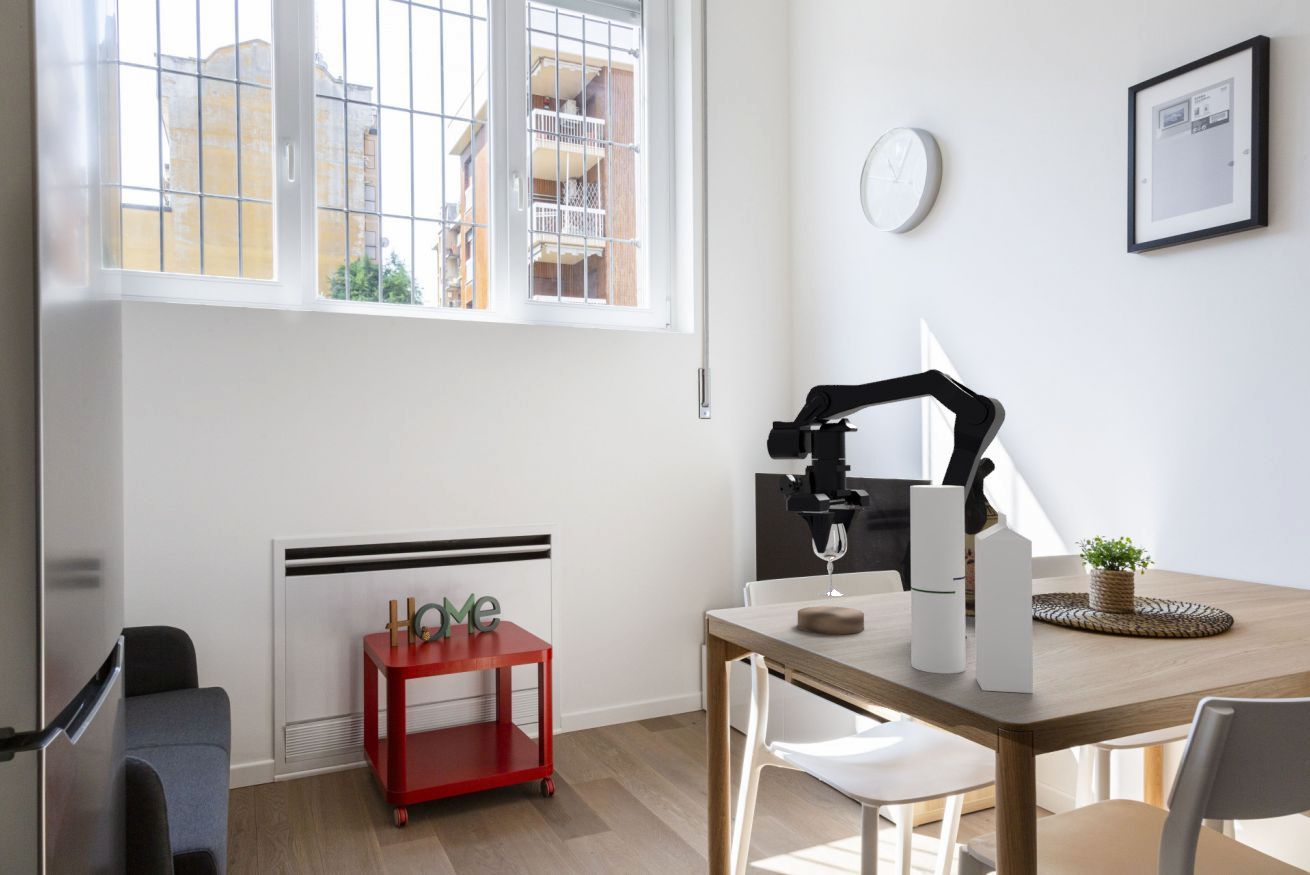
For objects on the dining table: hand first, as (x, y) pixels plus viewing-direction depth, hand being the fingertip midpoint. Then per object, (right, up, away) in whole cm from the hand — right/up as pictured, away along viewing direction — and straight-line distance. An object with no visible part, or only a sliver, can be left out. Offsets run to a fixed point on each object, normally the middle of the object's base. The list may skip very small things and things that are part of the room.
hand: (830, 551), depth 145 cm
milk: (+15, -13, -36) cm, 41 cm away
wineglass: (0, -7, 0) cm, 7 cm away
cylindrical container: (+10, -13, -27) cm, 31 cm away
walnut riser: (0, -13, 0) cm, 13 cm away
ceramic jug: (+29, -13, +12) cm, 34 cm away
